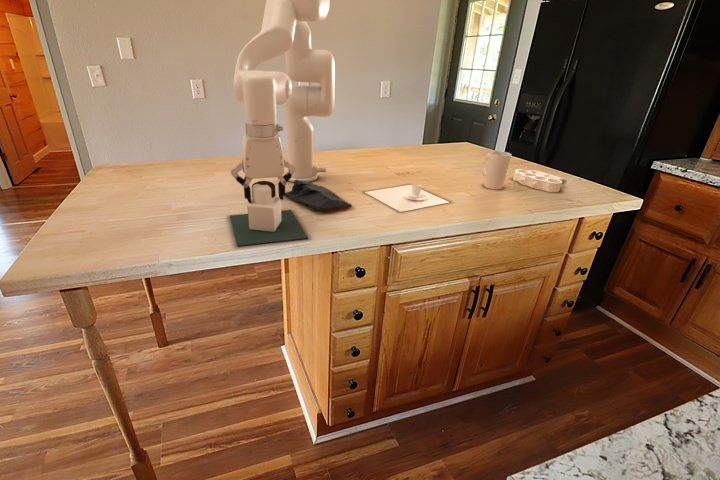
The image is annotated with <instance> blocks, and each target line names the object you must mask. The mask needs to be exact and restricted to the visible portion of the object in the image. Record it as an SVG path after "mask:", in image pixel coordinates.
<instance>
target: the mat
mask: <svg viewBox="0 0 720 480" xmlns="http://www.w3.org/2000/svg"><path fill="white" fill-rule="evenodd" d="M229 218H230V222H231V227H232V230H233V234H234V235H233V236H234V238H235V242H236V246H237V248H239V247H247V246H258V245H264V244H274V243H285V242H293V241H301V240H308V239H309V237H308V236H307V234H306V232H305V230H304V229H303V227H302V226H301V224H300V223H299V221H298V219H297V218H296V216H295V214H294V213H293V211H292V210H291V209H288V210H287V209H286V210H281V218H282V221H281V223H280V224H279V226H278V227H277V229H276V230H275V232H269V231H260V230H250V229H249V220H248V213H243V214H242V213H241V214H231V215H229Z"/></svg>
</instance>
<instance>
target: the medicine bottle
mask: <svg viewBox="0 0 720 480" xmlns="http://www.w3.org/2000/svg"><path fill="white" fill-rule="evenodd" d="M276 195H277V194H276V184H275V183H274V182H272V181H269V180H259V181H258V180H257V181H255V182H254V183H252V185H251V203H248V204H247V206H246V207H247V214H248V220H249V229H250V230H260V231H269V232H275V230H276V229H277V227H278V226H279V224H280V223H281V221H282V218H281V211H282V200H281V199H280V198H279V196H276Z"/></svg>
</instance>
